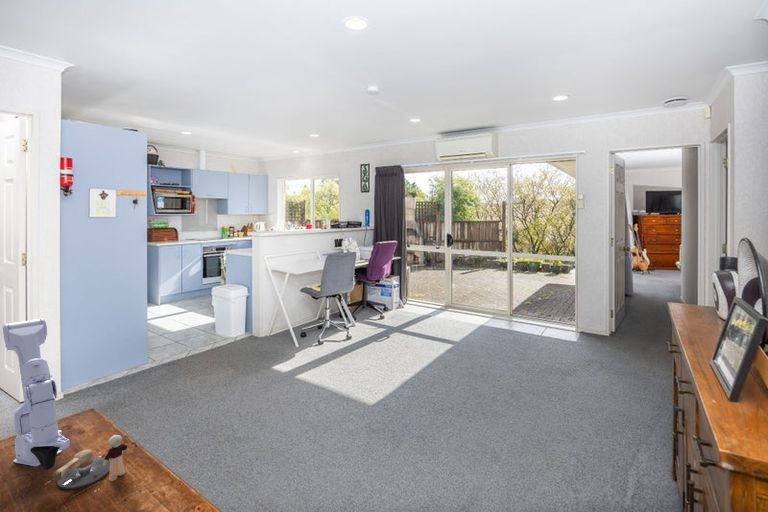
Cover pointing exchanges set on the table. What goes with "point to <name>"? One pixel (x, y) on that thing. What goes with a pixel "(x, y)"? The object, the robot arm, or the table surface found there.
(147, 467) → the table surface
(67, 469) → the wooden scoop
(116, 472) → the grandmother figurine
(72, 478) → the post base
